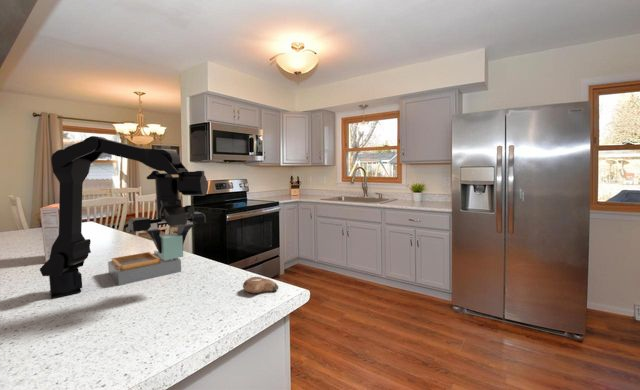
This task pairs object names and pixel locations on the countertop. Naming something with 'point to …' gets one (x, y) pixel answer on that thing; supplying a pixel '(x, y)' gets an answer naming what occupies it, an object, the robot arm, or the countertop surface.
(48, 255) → the cracker box
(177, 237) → the mint green box
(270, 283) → the brown rounded lump
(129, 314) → the countertop surface
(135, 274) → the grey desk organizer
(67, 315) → the countertop surface
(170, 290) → the countertop surface
